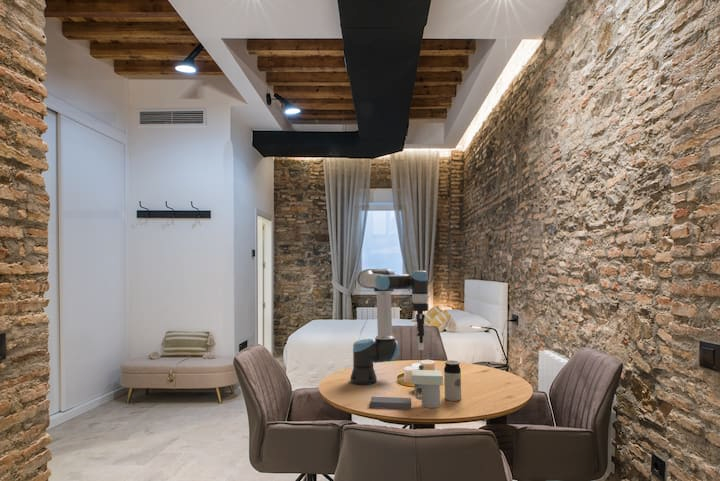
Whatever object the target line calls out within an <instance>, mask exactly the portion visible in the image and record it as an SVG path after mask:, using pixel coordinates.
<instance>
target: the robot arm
mask: <svg viewBox="0 0 720 481" xmlns="http://www.w3.org/2000/svg"><path fill="white" fill-rule="evenodd" d="M356 278H357V283H358V285H359V286H360V287H362V288H363V289H371V290H372V289H373V291H374V293H375V294H376V315H377V316H376V319H377V322H376V323H377V326H376V327H377V335H376V336H375V340H373V339H371V338H365V339H359V340H356V341H355V342H354V343H353V345H352V346H353V348H352V352H353V354H352V355H353V358H352V364H353V365H352V367H353V368H352V371H351V375H350V377H349V379H350V380H349V381H350V383H351V384H353V385H358V386H359V385H360V386H366V385H367V386H368V385H373V384H376V383H377V382H378V381H377V378H378V377H377V375H376V372H375V367H374V363H380V362H381V363H382V362H391V361H395V360H396V359H397V358H398V356H399V353H400V352H399V351H400V346H399V342H398V340H396V337H395V336H394V335H393V319H392V318H393V317H392V312H393V311H392V294H393V293H394V290H411V292H412V293H411V296H412V297H411V301H412V306H411V307H412V309H411V310H412V311H413V312H416V313H417V314H415V319H416V324H417V326H416V328H417V330H416V331H417V333H416V339H417V345H418V346H417V347H418V351H425V327H424V326H425V316H426V315H425V314H424V312H428V310H429V303H428V302H429V298H430V295H429V294H428V293H429V292H428V291H429V281H428V280H429V278H428V272H427V271H426V270H413V271H412V273H409V274H408V273H406V274H396V273H395V271H394V270H393V269H391V268H374V269H373V268H368V269H364V270H362V271H360V272H359V273H358V275H357V277H356Z"/></svg>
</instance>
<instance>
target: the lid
mask: <svg viewBox="0 0 720 481" xmlns="http://www.w3.org/2000/svg"><path fill="white" fill-rule="evenodd" d="M443 376H444V375H443V373H442V370H437V369H424V370H419V369H411V385H414V384H422V385H440V386H443V385H444V383H443V382H444V380H443V379H444V378H443Z"/></svg>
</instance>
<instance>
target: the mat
mask: <svg viewBox="0 0 720 481" xmlns="http://www.w3.org/2000/svg"><path fill="white" fill-rule="evenodd" d="M369 406H370V407H369V408H371V409H373V408H376V409H377V408H378V409H379V408H380V409H404V410H405V409H406V410H407V409H408V410H411V409H412V397H398V396H397V397H395V396H394V397H393V396H389V397H387V396H371V399H370V401H369Z"/></svg>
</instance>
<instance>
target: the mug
mask: <svg viewBox="0 0 720 481" xmlns="http://www.w3.org/2000/svg"><path fill="white" fill-rule="evenodd" d="M418 388H421V389H422V392H421V395H418V394H417V393H418V391H417V389H418ZM440 388H441V385H422V384H421V385H417V386H415V387H414V391H413V392H414V393H413V394H414V398H415V399H417V400H418V401H419V400H420V401H421V406H422V407H424V408H428V409H438V408H439V407H441V391H440V390H441V389H440Z"/></svg>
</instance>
